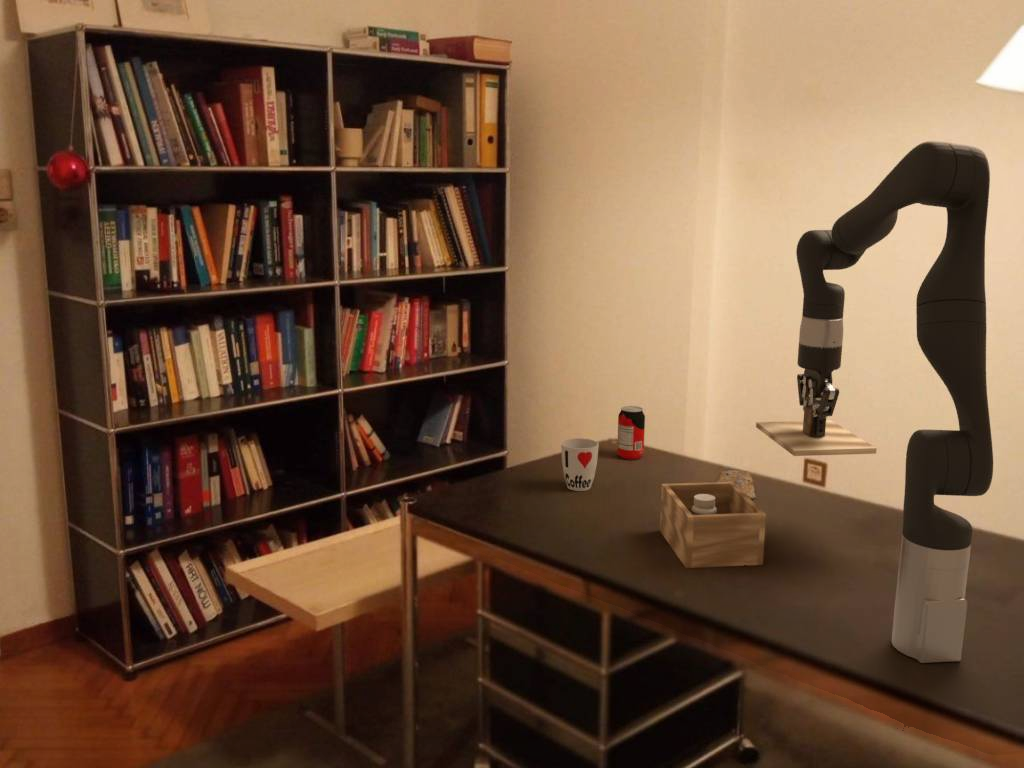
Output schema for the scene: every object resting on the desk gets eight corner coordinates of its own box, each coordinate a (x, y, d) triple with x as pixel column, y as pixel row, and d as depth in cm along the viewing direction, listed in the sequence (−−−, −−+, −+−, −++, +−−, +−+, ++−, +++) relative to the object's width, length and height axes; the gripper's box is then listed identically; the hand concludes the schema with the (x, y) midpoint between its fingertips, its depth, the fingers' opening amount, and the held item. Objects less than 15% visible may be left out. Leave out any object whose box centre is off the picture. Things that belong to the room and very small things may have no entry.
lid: (876, 453, 175) (879, 420, 174) (793, 456, 173) (796, 422, 172) (830, 425, 193) (832, 395, 192) (755, 427, 192) (757, 396, 190)
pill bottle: (715, 544, 186) (717, 502, 184) (689, 542, 187) (691, 500, 185) (715, 535, 191) (717, 493, 189) (690, 533, 191) (692, 492, 190)
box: (762, 564, 177) (766, 514, 175) (685, 568, 175) (688, 517, 173) (729, 527, 194) (732, 481, 192) (659, 530, 193) (661, 483, 191)
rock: (708, 487, 219) (716, 493, 209) (716, 461, 219) (724, 466, 209) (747, 497, 219) (756, 504, 209) (754, 472, 219) (764, 477, 209)
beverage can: (648, 458, 239) (650, 409, 236) (627, 462, 236) (629, 413, 233) (632, 451, 244) (634, 404, 241) (611, 455, 241) (613, 407, 238)
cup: (556, 491, 215) (557, 446, 213) (565, 479, 223) (566, 436, 220) (593, 495, 213) (594, 450, 211) (601, 483, 220) (602, 439, 218)
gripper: (858, 348, 173) (849, 444, 177) (824, 334, 186) (817, 423, 190) (816, 349, 172) (809, 445, 176) (785, 335, 186) (779, 424, 190)
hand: (813, 433), depth 183 cm, fingers closed on lid, 3 cm apart
